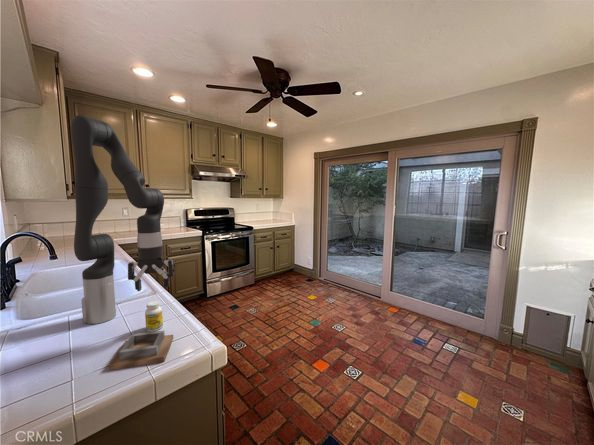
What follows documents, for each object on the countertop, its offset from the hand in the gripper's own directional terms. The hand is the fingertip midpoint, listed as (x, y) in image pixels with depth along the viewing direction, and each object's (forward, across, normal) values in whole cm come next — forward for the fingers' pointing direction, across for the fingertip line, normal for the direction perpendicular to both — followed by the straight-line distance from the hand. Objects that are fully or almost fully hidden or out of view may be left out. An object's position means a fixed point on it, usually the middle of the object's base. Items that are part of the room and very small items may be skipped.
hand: (152, 289), depth 87 cm
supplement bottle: (+15, 0, 0) cm, 15 cm away
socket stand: (+15, -1, +15) cm, 21 cm away
